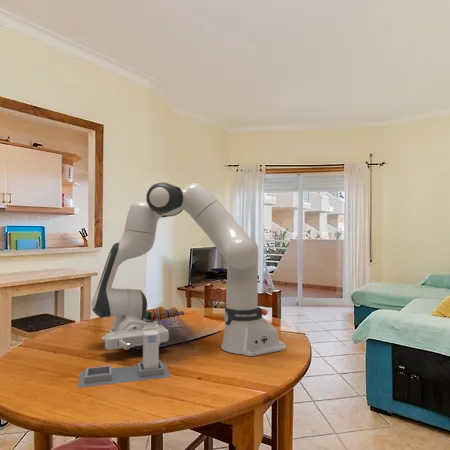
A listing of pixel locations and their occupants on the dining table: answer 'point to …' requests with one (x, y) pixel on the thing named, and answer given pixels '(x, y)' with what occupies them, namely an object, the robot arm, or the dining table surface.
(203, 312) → the dining table surface
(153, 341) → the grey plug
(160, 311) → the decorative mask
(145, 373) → the grey flat plate
